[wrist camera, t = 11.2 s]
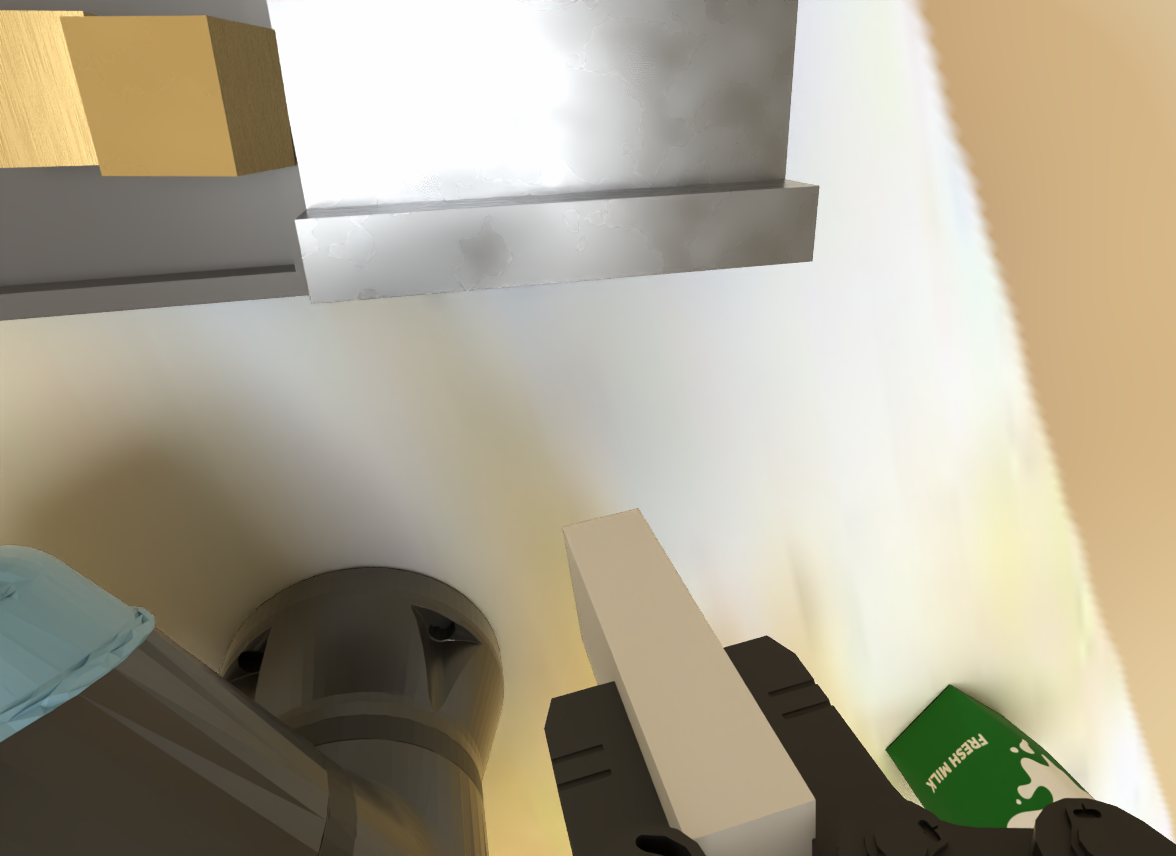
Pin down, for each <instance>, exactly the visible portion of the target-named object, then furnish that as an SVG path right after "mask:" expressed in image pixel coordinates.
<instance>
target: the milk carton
mask: <svg viewBox="0 0 1176 856" xmlns="http://www.w3.org/2000/svg"><path fill="white" fill-rule="evenodd" d="M886 751H887V753H888V754H889V756H890V757H891V759H892V760H893V762H894V763H895V765H896V766H897V768H898V769H899V771H900V772H901V774H902V775H903V777H904V778H905V780H906V781H907V783H908V784H909V786H910V787H911V789H912V790H913V792H914V793H915V795H916V796H917V798H918V799H919V801H920V802H921V804H922V805H923V807H924V808H925V809H926V810H928V811H930V812H932V813H934V814H935V815H936V816H937V817H938V818H939V819H940V820H942V821H946V822H949V823H952V824H955V825H961V826H970V827H988V828H1034V825H1035V820H1036V818H1037V817H1038V816H1039V814H1040V813H1041V811H1042V810H1043V808H1044V807H1045V806H1046V805H1048V804H1050V803H1053V802H1055V801H1058V800H1060V799H1063V798H1090V799H1093V800H1095V799H1094V798H1093V797H1092V796H1091V795H1090V794H1089V793H1088V792H1087V791H1086V790H1085V789H1084V788H1083V787H1082V786H1081V785H1080V784H1079V783H1078V782H1077V781H1076V780H1075V779H1074V778H1073V777H1072V776H1071V775H1070V774H1069V773H1068V772H1067V771H1066V770H1065V769H1064V768H1063V767H1062V766H1061V765H1060V764H1059V763H1058V762H1057V761H1056V760H1055V759H1054V758H1053V757H1052V756H1051V755H1050V754H1049V753H1048V752H1047V751H1045V750H1044V749H1043V748H1042V747H1041V746H1040V745H1038V744H1037V743H1036V742H1035V741H1034V740H1032V739H1031V738H1030V737H1028V736H1027V735H1026V734H1025V733H1023V732H1022V731H1021V730H1020V729H1018V728H1017V727H1016V726H1015V725H1013V724H1012V723H1011V722H1010V721H1009V720H1007V719H1006V718H1005V717H1004V716H1002V715H1001V714H999V713H997V712H995V711H994V710H992V709H990V708H989V707H987V706H985V705H983V704H982V703H980V702H978V701H977V700H975V699H973V698H972V697H970V696H968V695H966V694H965V693H963V692H961V691H960V690H958V689H956V688H954V687H953V686H951V685H949V686H948V687H947V688H946V689H945V690H944V691H943V693H942V694H941V695H940V696H939V697H938V698H937V699H936V700H935V701H934V702H933V703H932V704H931V705H930V706H929V707H928V708H927V709H926V710H925V711H924V712H923V713H922V714H921V715H920V716H919V717H918V718H917V719H916V720H915V721H914V722H913V723H912V724H911V725H910V726H909V727H908V728H907V729H906V730H905V731H904V732H903V733H902V734H901V735H900V736H899V737H898V738H897V739H896V740H895V741H894V742H893V743H892V745H891V746H890V747H889V748H888V749H886Z"/></svg>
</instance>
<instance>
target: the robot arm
mask: <svg viewBox="0 0 1176 856" xmlns="http://www.w3.org/2000/svg"><path fill="white" fill-rule="evenodd" d="M562 528H563V534H564V540H565V545H566V551H567V557H568V562H569V568H570V574H571V579H572V585H573V591H574V596H575V602H576V608H577V613H578V619H579V625H580V630H581V636H582V640H583V643H584V646H585V649H586V652H587V655H588V658H589V661H590V664H591V666H592V669H593V672H594V675H595V678H596V681H597V684H598V686H594V687H591V688H587V689H584V690H580V691H577V692H573V693H570V694H566V695H563V696H559V697H556V698H552V699H551V703H550V707H549V712H548V716H547V720H546V724H545V728H544V729H545V734H546V738H547V743H548V747H549V752H550V757H551V761H552V766H553V770H554V775H555V779H556V784H557V788H558V793H559V797H560V802H561V806H562V810H563V815H564V819H565V823H566V828H567V832H568V836H569V841H570V845H571V849H572V854H573V856H1176V844H1174V843H1173V842H1172V841H1170V840H1169V839H1167V838H1166V837H1165V836H1163V835H1162V834H1160V833H1159V832H1157V831H1156V830H1155V829H1153V828H1152V827H1150V826H1149V825H1148V824H1146V823H1145V822H1143V821H1142V820H1140V819H1138V818H1136V817H1134V816H1133V815H1131V814H1129V813H1127V812H1125V811H1124V810H1122V809H1120V808H1118V807H1117V806H1113V805H1110V804H1107V803H1103V802H1100V801H1096V800H1093V799H1090V798H1063V799H1060V800H1058V801H1055V802H1053V803H1050V804H1048V805H1046V806H1045V807H1044V808H1043V810H1042V811H1041V813H1040V814H1039V816H1038V817H1037V818H1036V820H1035V825H1034V828H988V827H970V826H961V825H955V824H952V823H949V822H946V821H942V820H940V819H939V818H938V817H937V816H936V815H935V814H934V813H932V812H930V811H928V810H926V809H924V808H922V807H921V806H919V805H917V804H915V803H913V802H911V801H907V800H906V799H905V798H903V797H902V795H901V794H900V793H899V792H898V791H897V790H896V789H895V788H894V787H893V786H892V784H891V783H890V782H889V780H888V779H887V778H886V776H885V775H884V774H883V772H882V771H881V769H880V768H879V767H878V765H877V764H876V763H875V761H874V760H873V759H872V757H871V756H870V755H869V753H868V752H867V751H866V749H865V748H864V746H863V745H862V744H861V742H860V741H859V740H858V738H857V737H856V736H855V734H854V733H853V732H852V730H851V729H850V727H849V726H848V725H847V723H846V722H845V721H844V719H843V718H842V717H841V715H840V714H839V713H838V711H837V710H836V708H835V707H834V706H831V704H830V702H829V699H828V698H827V696H826V695H825V694H824V692H823V691H822V690H821V688H820V687H819V685H818V684H815V682H814V679H813V677H812V676H811V675H810V673H809V672H808V671H807V669H806V668H805V666H804V665H803V664H802V662H801V661H800V660H799V658H798V657H797V656H796V654H795V653H793V652H792V651H790V650H789V649H787V648H786V647H784V646H782V645H781V644H779V643H778V642H776V641H775V640H773V639H772V638H770V637H769V636H763V637H760V638H756V639H753V640H749V641H746V642H742V643H739V644H735V645H732V646H728V647H725V648H723V647H722V645H721V643H720V642H719V640H718V639H717V637H716V635H715V634H714V632H713V630H712V629H711V627H710V625H709V624H708V622H707V621H706V619H705V617H704V616H703V614H702V612H701V611H700V609H699V607H698V606H697V604H696V602H695V601H694V599H693V598H692V596H691V594H690V593H689V591H688V589H687V588H686V586H685V584H684V583H683V581H682V579H681V578H680V576H679V575H678V573H677V571H676V570H675V568H674V566H673V565H672V563H671V561H670V560H669V558H668V556H667V555H666V553H665V552H664V550H663V548H662V547H661V545H660V543H659V542H658V540H657V538H656V537H655V535H654V533H653V532H652V530H651V529H650V527H649V525H648V524H647V522H646V520H645V519H644V517H643V515H642V514H641V512H640V511H639V509H638V508H637V509H633V510H629V511H625V512H621V513H617V514H613V515H609V516H605V517H601V518H597V519H593V520H589V521H584V522H580V523H576V524H572V525H568V526H564V527H562ZM503 697H504V678H503V671H502V664H501V657H500V651H499V646H498V642H497V640H496V637H495V634H494V632H493V630H492V628H491V626H490V624H489V623H488V621H487V620H486V618H485V617H484V616H483V614H482V613H481V612H480V611H479V610H478V608H477V607H476V606H475V605H474V604H473V603H472V602H470V601H469V600H468V599H467V598H466V597H464V596H463V595H462V594H460V593H459V592H457V591H456V590H454V589H452V588H451V587H449V586H447V585H445V584H443V583H441V582H439V581H437V580H434V579H432V578H429V577H426V576H423V575H420V574H416V573H412V572H408V571H402V570H396V569H387V568H356V569H347V570H341V571H335V572H330V573H326V574H322V575H319V576H316V577H313V578H310V579H307V580H304V581H302V582H299V583H297V584H295V585H293V586H291V587H289V588H287V589H285V590H283V591H281V592H280V593H278V594H277V595H275V596H273V597H272V598H271V599H269V600H268V601H266V602H265V603H264V604H263V605H261V606H260V607H259V608H258V609H257V610H256V611H255V612H254V613H253V614H252V615H251V616H250V617H249V618H248V619H247V620H246V621H245V622H244V624H243V625H242V626H241V628H240V629H239V630H238V632H237V633H236V635H235V637H234V638H233V640H232V642H231V644H230V646H229V649H228V651H227V654H226V657H225V660H224V662H223V665H222V668H221V671H220V674H217V673H216V672H214V671H213V670H212V669H210V668H209V667H208V666H206V665H205V664H204V663H202V662H201V661H200V660H198V659H197V658H196V657H194V656H193V655H191V654H190V653H189V652H187V651H186V650H185V649H183V648H182V647H181V646H179V645H178V644H177V643H175V642H174V641H173V640H171V639H170V638H169V637H167V636H166V635H165V634H163V633H162V632H161V631H160V630H158V629H157V628H156V627H155V617H154V615H153V614H151V613H150V612H149V611H148V610H147V609H145V608H143V607H137V606H128V605H127V604H125V603H124V602H122V601H121V600H119V599H118V598H116V597H115V596H113V595H112V594H110V593H109V592H107V591H106V590H104V589H103V588H101V587H100V586H98V585H97V584H95V583H94V582H92V581H91V580H89V579H88V578H86V577H85V576H83V575H82V574H80V573H79V572H77V571H76V570H74V569H73V568H71V567H70V566H68V565H67V564H65V563H64V562H62V561H61V560H59V559H58V558H56V557H54V556H52V555H50V554H48V553H46V552H44V551H41V550H38V549H35V548H31V547H27V546H19V545H0V856H489V852H488V842H487V832H486V822H485V812H484V804H483V793H482V779H483V776H484V772H485V769H486V765H487V761H488V758H489V754H490V751H491V747H492V743H493V740H494V736H495V733H496V729H497V725H498V722H499V718H500V715H501V710H502V706H503Z"/></svg>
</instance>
